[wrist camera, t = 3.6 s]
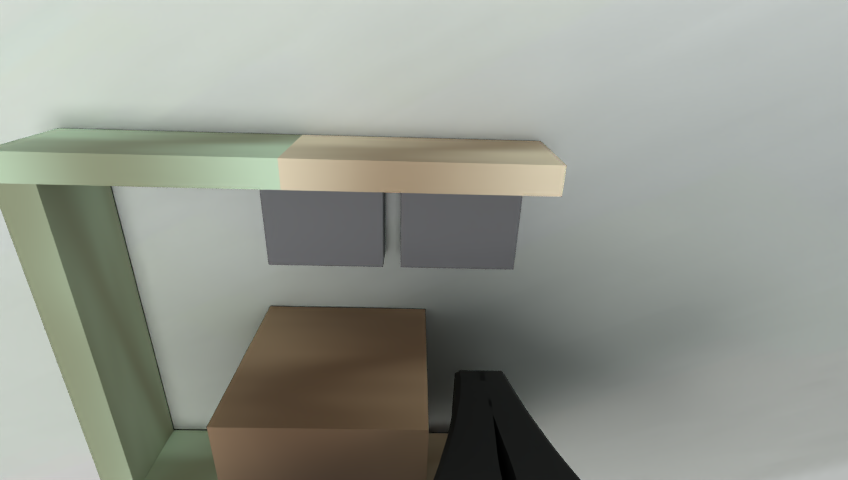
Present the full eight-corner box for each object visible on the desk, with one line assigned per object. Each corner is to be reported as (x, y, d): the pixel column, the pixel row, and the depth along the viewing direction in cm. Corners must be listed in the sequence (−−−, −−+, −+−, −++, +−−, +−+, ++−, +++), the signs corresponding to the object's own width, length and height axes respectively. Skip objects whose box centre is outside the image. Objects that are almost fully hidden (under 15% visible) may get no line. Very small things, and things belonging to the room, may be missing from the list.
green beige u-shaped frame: (540, 141, 10) (566, 165, 9) (499, 448, 14) (511, 510, 12) (57, 128, 10) (-21, 150, 8) (150, 444, 14) (110, 507, 12)
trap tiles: (516, 175, 11) (523, 185, 10) (506, 254, 12) (513, 269, 11) (269, 169, 11) (258, 180, 10) (278, 249, 11) (269, 264, 11)
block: (425, 309, 12) (428, 430, 9) (420, 424, 14) (422, 566, 10) (270, 306, 12) (205, 427, 8) (284, 422, 14) (236, 565, 10)
